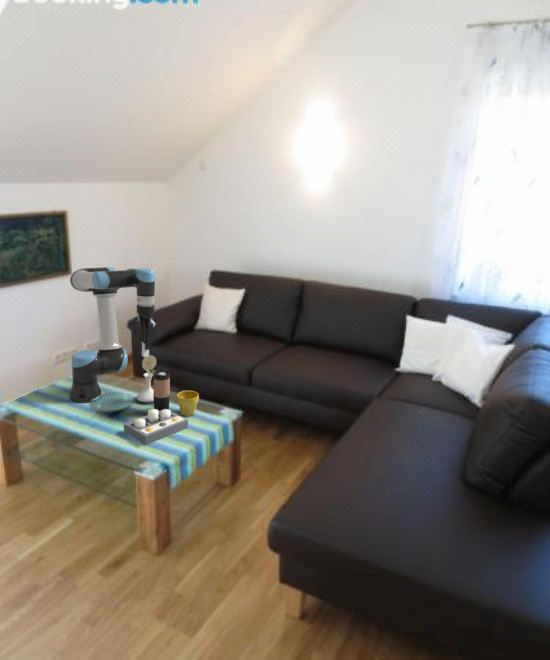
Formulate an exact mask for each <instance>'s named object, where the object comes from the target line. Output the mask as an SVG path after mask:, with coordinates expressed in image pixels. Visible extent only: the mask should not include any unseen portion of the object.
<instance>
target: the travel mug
mask: <svg viewBox="0 0 550 660" xmlns="http://www.w3.org/2000/svg"><path fill="white" fill-rule="evenodd" d="M170 378H171V373H170V371H169V370H166V371H165V370H163V369H158V370H155V372H154V375H153V390H154V391H153V398H154V402H153V409H157V410H158V411H161V410H163V409H168V410H170V397H171V395H170V394H171V392H170V391H171V390H170V389H171V387H170V386H171V385H170V383H171V379H170Z"/></svg>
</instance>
